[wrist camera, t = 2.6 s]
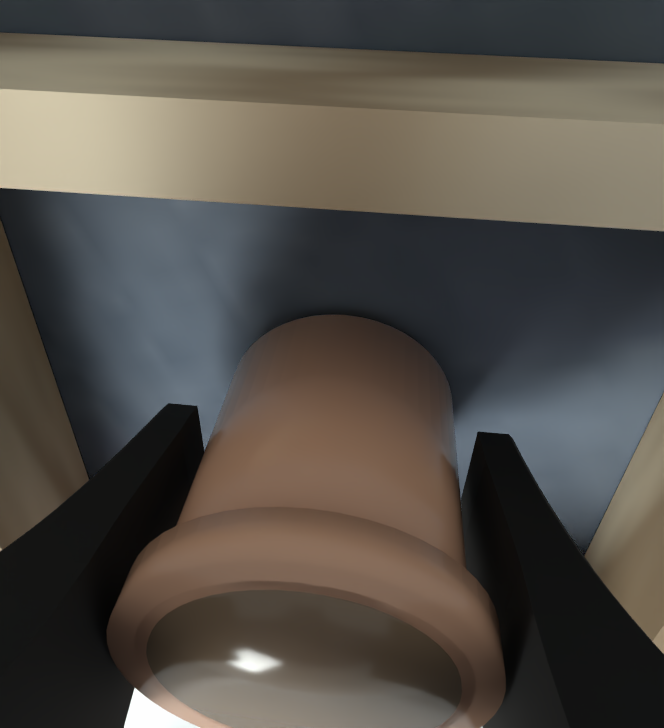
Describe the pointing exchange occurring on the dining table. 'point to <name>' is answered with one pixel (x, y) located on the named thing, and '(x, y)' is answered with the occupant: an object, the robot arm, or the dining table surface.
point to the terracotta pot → (318, 551)
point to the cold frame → (323, 199)
